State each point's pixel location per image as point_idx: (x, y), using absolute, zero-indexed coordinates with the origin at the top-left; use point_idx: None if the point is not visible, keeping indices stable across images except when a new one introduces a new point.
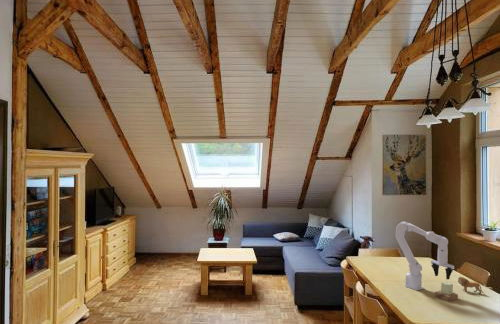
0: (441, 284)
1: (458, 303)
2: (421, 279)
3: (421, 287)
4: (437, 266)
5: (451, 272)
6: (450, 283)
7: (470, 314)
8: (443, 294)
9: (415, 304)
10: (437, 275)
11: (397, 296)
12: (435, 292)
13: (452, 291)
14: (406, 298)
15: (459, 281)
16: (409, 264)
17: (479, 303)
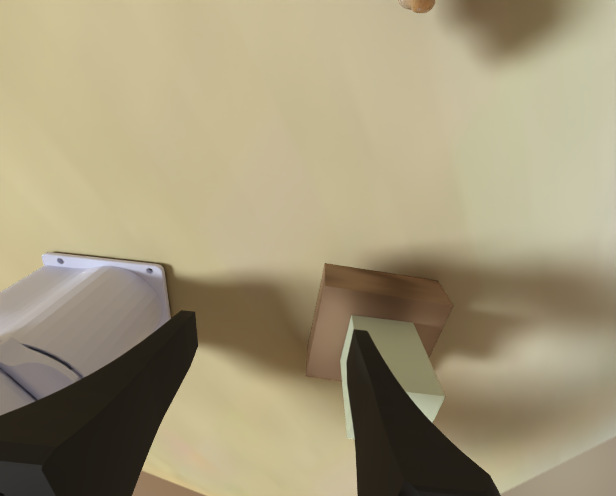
0: (347, 421)
1: (462, 342)
2: (112, 344)
3: (145, 279)
4: (101, 470)
5: (425, 424)
6: (419, 397)
7: (551, 425)
8: None
9: (307, 479)
10: (193, 323)
11: (198, 461)
12: (309, 373)
13: (418, 337)
14: (237, 456)
15: (402, 1)
16: None
17: (600, 230)
